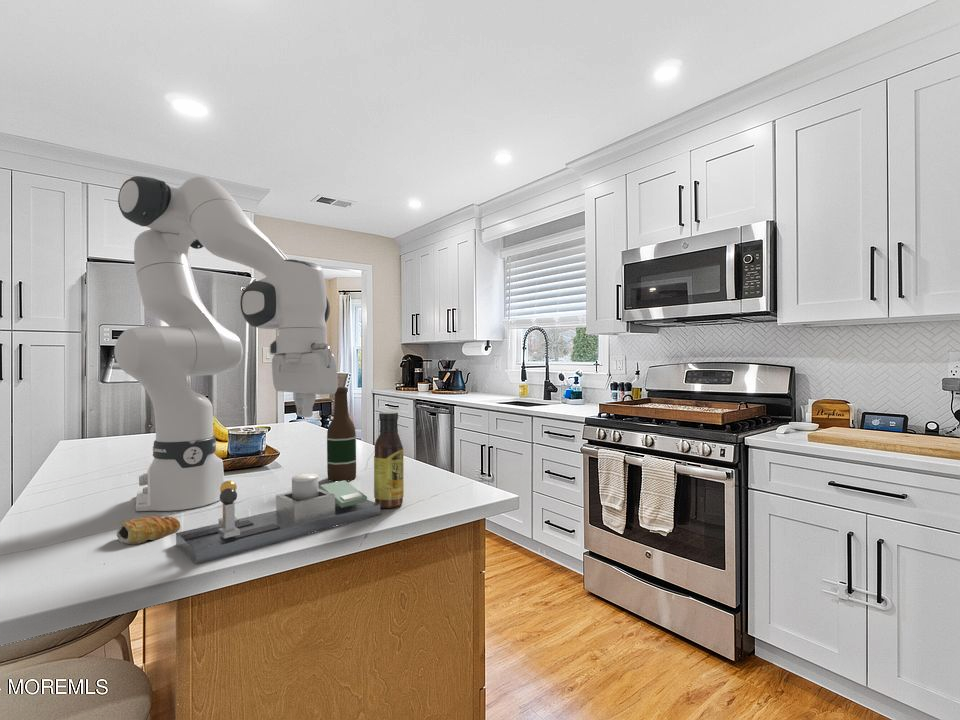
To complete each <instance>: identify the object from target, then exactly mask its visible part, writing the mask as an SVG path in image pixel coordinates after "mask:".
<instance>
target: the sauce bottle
mask: <svg viewBox="0 0 960 720" xmlns="http://www.w3.org/2000/svg"><path fill="white" fill-rule="evenodd" d="M378 415H379V418H378V419H379V433H380V434H379V435H378V437H377V438H376V441H375V443H374V456H373V474H374V475H373V495H374V496H373V497H374V502H375V503H377V504H380V509H390V508H391V509H392V508H397V507H399V506H402V505H403V502H404V495H405V494H404V493H405V492H404V485H405V483H404V482H405V481H404V475H405V474H404V467H405V466H404V463H405V462H404V446H403V443H402V440H401V438H400V434H399V429H398V419H399V412H398V411H384V412H379V413H378Z"/></svg>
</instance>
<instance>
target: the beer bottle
mask: <svg viewBox="0 0 960 720" xmlns="http://www.w3.org/2000/svg"><path fill="white" fill-rule="evenodd" d="M348 392H349V390H348V387H347V386H338V388H337V391H336V393H335V394H334V410H333V418H332V420H331V421H330V423H329V425H328V428H327V431H326V451H327V452H326V460H327V462H326V463H327V464H326V466H327V467H326V468H327V471H326V472H327V479H328V481H329V480H331V481H330V482H334V481H343V480H345V481H347V482H349V481H351V480H352V479H353V480H355V479H356V477H357V440H356V439H357V434H356V426H355V424H354V421H352V418H350V414H349V404H348V403H349V402H348ZM348 480H349V481H348Z"/></svg>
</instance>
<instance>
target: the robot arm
mask: <svg viewBox="0 0 960 720" xmlns="http://www.w3.org/2000/svg"><path fill="white" fill-rule="evenodd" d="M119 189H120V190H119V192H118V196H117V197H118V198H117V203H118V207H119V210H120V214H122V216H123V217H124V218H125V219H126V220H128V221H129V222H131V223H133V224H134V225H137V226H139V227H146V228H149V229H147V230H143V231H142V232H141V233H139V234H138V235H137V236H136V238H135V240H134V242H133V243H134V245H133V246H134V247H133V248H134V249H133V259H134V260H133V261H134V267H135V274H136V279H137V283H138V284H137V285H138V288H139V292H140V297H141V301H142V304H143V307H144V308H145V310H146V311H147V313H148V314H149V315H152V316H153V317H154V318H156V319H158V320H160V321H162V322H163V323H165V324H167V325H168V326H167V325H147V326H138V327H137V326H136V327H132V328H128V329H125V330H124V331H122V333H121V334H120V335H119V337H118V338H117V340H116V341H115V345H114V350H113V351H114V358H115V361H116V363H117V365H118V366H119V369H121V370H122V371H123V372H124V373H125V374H127V375H129V376H131V377H132V378H133V379H135V380H136V382H138V383H139V384H140V385H141V386H142V388H144V390H145V391H146V392H147V394H148V396H149V398H150V401H151V403H152V407H153V415H154V424H155V425H154V427H155V440H154V441H153V445H152V457H153V459H152V462H151V464H150V465H149V467H148V469H147V473H143V474H141V475H139V476H138V486H139V487H143V486H147V487H143V488H142V490H141V491H137V492H136V498H135V499H136V500H135V501H136V502H135V511H136V512H145V511H146V512H147V511H148V512H149V511H158V512H160V511H161V512H165V511H167V512H168V511H169V512H170V511H171V512H172V511H180V510H187V509H188V510H189V509H194V508H195V509H196V508H199V507H203V506H208V505H210V504H214V503H216V502H218V501H220V493H221V491H220V487H221V485H222V483H224V482H225V475H224V461H223V459H222V458H221V457H219V456H217V455H216V453H215V452H216V451H217V447H216V446H217V441H216V436H215V435H214V407H213V404H212V402H211V401H210V400H209V398H208V397H206V396H205V395H203V394H201V393H199V392H196V391H194V390H193V389H192V388H191V387H190V385H189V382H188V377H191V376H195V377H196V376H216V375H219V374H220V375H221V374H224V373H228V372H233V371H235V370H236V369H237V368H238V367H239V365H240V363H241V362H242V360H243V355H244V348H243V343H242V341H241V339H240V338H239V337H238V335H237V333H235V332H233V331H231V330H229V329H228V328H226V327H225V326H224V325H222V324H221V323H219V321H218V320H217V319H216V318H214V316H213V315H212V314H211V313H210V311H209V310H208V309H207V308H206V306H205V305H204V303H203V300H202V298H201V297H200V293H199V291H198V287H197V284H196V281H195V277H194V273H193V269H192V267H191V263H190V260H189V249H190V247H191V248H192V249H196V250H197V249H202V248H205V249H206V250H207V251H208V252H209V253H211V254H212V255H213V256H215V257H218V258H221V259H224V260H227V261H230V262H234V263H237V264H240V265H243V266H245V267H249V268H251V269H254V270H256V271H257V272H259V273H261V274H262V275H264V276H265V277H264V278H261V279H259V280H254V281H252V282H250V283H249V284H248V285H247V286H246V287H245V288H244V290H242V293H241V296H240V311H241V314H242V316H243V318H244V320H245V321H246V323H247V324H248V325H250V327H254V328H258V329H262V330H276V331H278V332H277V333H278V334H277V336H276V337H275V339H274V340H273V341H272V342H271V343H269V354H270V355H271V356H272V358H271V371H272V372H271V373H272V374H271V375H272V385H273V387H274V390H275V391H276V392H282V393H283V392H284V393H293V395H292V396H293V397H292V398H293V402H294V404H295V408H296V416H298V417H301V418H311V417H313V407H314V406H315V402H316V398H317V397H316V395H335V393H336V391H337V388H338V387H339V382H338V381H339V379H338V367H337V362H336V358H335V356H334V354H333V353H332V349H331V348H330V346H329V344H328V326H327V321H328V319H329V318H330V317H329V316H330V313H331V311H330V310H331V306H330V302H329V298H328V297H327V288H326V280H325V279H326V278H325V275H324V271H323V269H322V267H321V266H320V265H318V264H316V263H314V262H309V261H305V260H300V259H293V258H292V259H291V258H290V259H289V257H288V256H287V255H286V254H285V253H284V251H282V249H281V248H279V246H277V245H276V244H275V242H273V241H272V240H271V239H270V238H269V237H267V236H266V235H265V234H264V232H262V231H261V230H260V229H259V228H258V227H257V226H256V225H255V224H254V223H253V221H252V220H251V219H250V218H249V217H248V216H247V215H246V214H245V212H244V211H243V210H242V208H241V207H240V205H239V203H238V202H237V201H236V200H235V199H234V197H233V196H232V195H231V194H230V192H228V191H227V190H226V189H225V187H224V186H222V185H221V184H220V183H219V182H217V181H216V180H215V179H213V178H210V177H207V176H194V177H192V178H190V179H188V180H186V181H185V182H184V183H183V184H182V185H181V186H178V185H175V184H171V183H167V182H165V181H164V180H159V179H157V178H154V177H150V176H149V177H148V176H138V175H136V176H132V177H130V178H129V179H127V180H125V181H124V182H123V183H122V185H121V187H120V188H119Z"/></svg>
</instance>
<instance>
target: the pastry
mask: <svg viewBox="0 0 960 720" xmlns="http://www.w3.org/2000/svg"><path fill="white" fill-rule="evenodd" d="M180 528H181V523H180V521H179V520H178V518H176V517H173V516H164V517H162V516H161V515H160V516H157V515H156V516H153V515H152V516H148V515H147V516H146V515H145V516H142V517H140V518H133V519H132V518H131V519H130V520H126V521H122V522H121V523H120V524H119V527H118V528H117V531H116V537H117V538H118V541H119V542H120V543H123V542H124V543H123V544H128V545H139V544H142V543H143V544H144V543H145V542H146V541H149V540H151V541H155V540H158V539H160V538H164V537H167V536H170V535H172V534H175V533H177V532H178V531H180Z"/></svg>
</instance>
